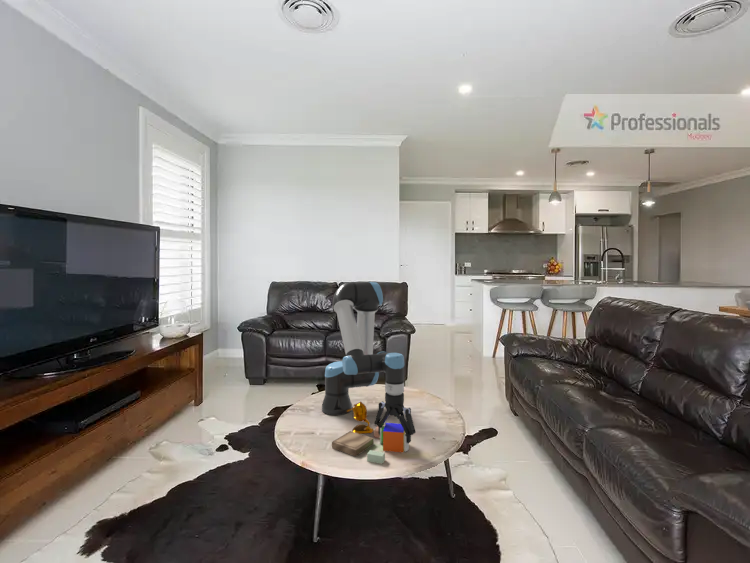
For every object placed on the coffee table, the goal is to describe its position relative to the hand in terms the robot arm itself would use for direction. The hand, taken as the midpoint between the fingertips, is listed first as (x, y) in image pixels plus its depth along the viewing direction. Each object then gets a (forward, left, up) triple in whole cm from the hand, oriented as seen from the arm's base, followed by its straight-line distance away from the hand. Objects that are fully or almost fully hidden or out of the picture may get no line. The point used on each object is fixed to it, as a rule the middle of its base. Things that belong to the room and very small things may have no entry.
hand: (394, 446), depth 156 cm
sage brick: (0, -13, 0) cm, 13 cm away
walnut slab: (-14, -9, 0) cm, 17 cm away
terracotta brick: (-11, +6, 0) cm, 13 cm away
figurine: (-20, +5, 0) cm, 21 cm away
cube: (0, 0, -1) cm, 1 cm away
